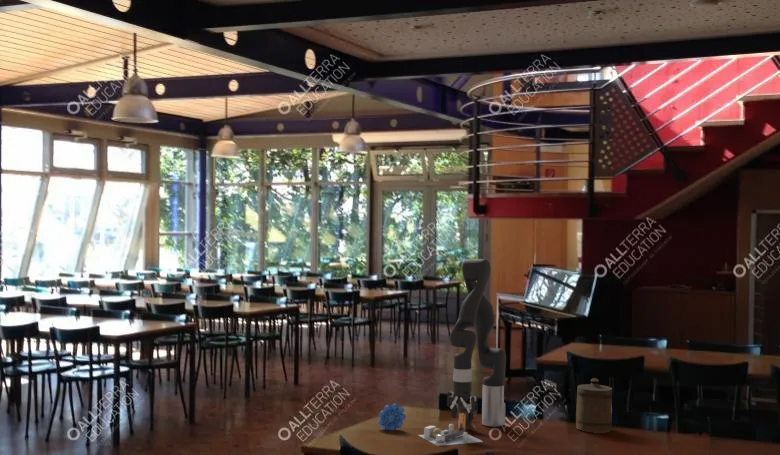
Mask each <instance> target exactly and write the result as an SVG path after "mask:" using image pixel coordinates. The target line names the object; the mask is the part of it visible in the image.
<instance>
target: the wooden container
mask: <svg viewBox="0 0 780 455" xmlns="http://www.w3.org/2000/svg"><path fill="white" fill-rule="evenodd" d="M599 382H600V380H599V379H598V378H597V377H592V378H591V379H590V384H589V383H587V384H586V383H585V384H578V385H577V388H576V389H577V390H576V407H575V408H576V410H575V428H577V429H576V430H578V429H579V430H578V431H580V430H582V431H581V432H583V431H587V432H586V433H588V432H593V433H592V434H608V433H607V432H609V433H611V432H612V430H613V429H612V428H613V426H612V422H613V406H612V404H613V403H612V402H613V399H612V397H613V388H612V387H610V386H608V385H602V384H600V383H599ZM610 431H611V432H610Z"/></svg>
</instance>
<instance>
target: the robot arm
mask: <svg viewBox="0 0 780 455" xmlns="http://www.w3.org/2000/svg"><path fill="white" fill-rule="evenodd" d="M461 266H462V267H461V270H462V276H463V280H464V284H465V286H466V290H467V291H466V292H467V296H466V297H465V299H464V300H463V301H462V303H461V307H460V310H459V314H458V318H457V321H456V322H455V324H454V327H453V328H452V329H451V330H452V331H451V332H450V335H449V343H450V345H451V346H452V347H453V348H462V349H463V348H465V349H464V352H459V353H458V352H457V353H456V354H454V356H453V373H452V378H453V379H452V390H451V391H448V392H447V396H446V407H449V408H450V416H451V419H453V420H454V419H457V415H458V413H457V406H458V405H462V406H464V407H465V408H466V409H467V411H468V422H472V423H473V421H474V420H473V413H474V412H475V411H477V412H478V411H479V410H478V407H479V406H478V396H477V395H471V392H472V390H473V389H472V388H473V387H472V386H473V385H472V384H473V373H472V359H473V354H474V349H475V347H476V344H477V353H478V354H477V356H478V362H479V364H480V367H482V368H484V369H489V370H493V371H492V372H493V373H492V374H491V375H488V376H485V377H483V378H482V388H481V389H482V394H481V395H482V396H481V397H482V401H481V402H482V403H481V406H482V407H481V424H482V425H483V426H487V427H502V426H505V425H506V403H505V402H504V399H505V397H504V396H505V394H504V392H505V379H506V366H507V365H506V364H507V354H506V351H505V349H503V348H497V347H490V345H489V336H490V334H491V331H492V329H493V327H494V325H495V321H496V320H495V319H496V318H495V313H494V308H493V305H492V303H491V302H490V300H489V299H488V297H487V296H485V294H484V293H485V290H486V288H487V285H488V281H489V279H490V275H491V263H490V261H489V260H488V259H486V258H467V259H464V260H463V261H462V265H461ZM472 327H474V330H475V332H474V331H473V330H471V329H470V330H469V329H467V328H472ZM467 404H469V405H467ZM474 406H475V408H474Z"/></svg>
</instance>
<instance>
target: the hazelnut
mask: <svg viewBox="0 0 780 455" xmlns="http://www.w3.org/2000/svg"><path fill="white" fill-rule="evenodd" d="M441 431H442V429H440V428H438V427H436V428H435V429H434V430H433V432H432V435H433V437H434V438H436V434H441Z"/></svg>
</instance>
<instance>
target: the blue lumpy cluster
mask: <svg viewBox="0 0 780 455" xmlns="http://www.w3.org/2000/svg"><path fill="white" fill-rule="evenodd" d="M378 417H379V419H378V420H377V424H378V425H379V427H380V426H381V430H382V431H388V430H389V431H396V430H397V429H401V428H402V427H403V425H404V424H403V422H404V421H405V420H406V419H407V416H406V414H405V408H404V407H403V406H399V405H398V403H393V404H392V405H390V404H386V405H385V406H384V407H383V410H381V411H380V412H378Z"/></svg>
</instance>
